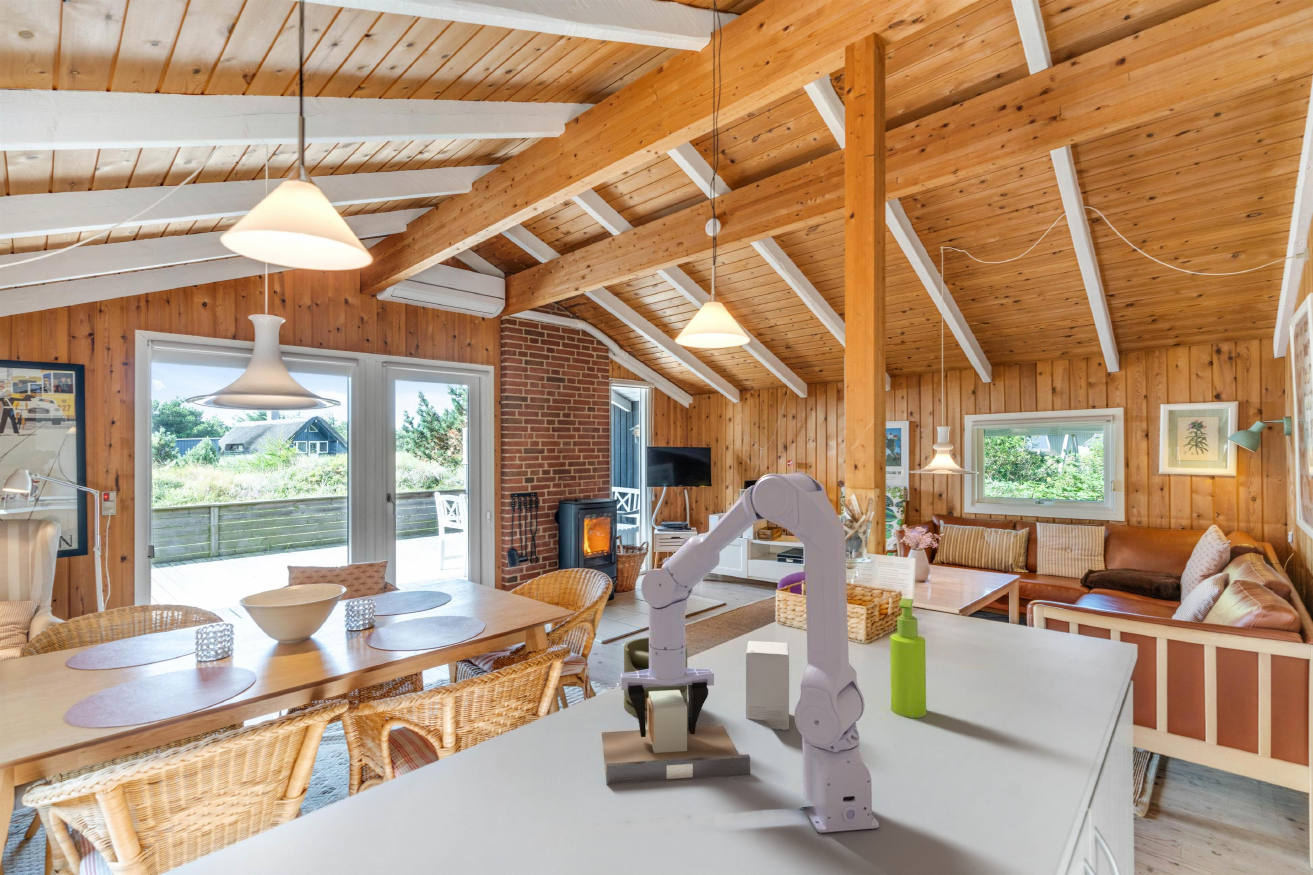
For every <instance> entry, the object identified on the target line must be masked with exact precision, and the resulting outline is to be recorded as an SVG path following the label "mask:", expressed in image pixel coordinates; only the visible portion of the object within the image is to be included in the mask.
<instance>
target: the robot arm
mask: <svg viewBox="0 0 1313 875" xmlns="http://www.w3.org/2000/svg"><path fill="white" fill-rule="evenodd" d="M764 520H766V521H768V522H770V523H773V524H775V525H777V526H780V527H781V528H784V529H785V530H788V531H789V532H790V534H792V535H793V536H794V537H795V538H797V539H798V540H799V541H800V542H801V543H802V544H803V546H804V578H805V580H804V581H805V582H804V583H805V584H804V585H805V587H804V588H805V614H806V617H805V618H806V621H805V622H806V623H805V624H806V653H807V654H806V656H807V657H806V658H807V659H806V660H807V662H806V663H807V664H806V667H805V671H804V674H803V677H802V680H801V683H800V695H799V696H800V697H799V700H798V702H797V704H796V706H795V708H794V713H793V714H794V723H795V726H796V729H797V731H798V732H799V733H800V735H801V737H802V740H801V742H802V745H801V746H802V795H803V797H804V799H805V800H806V801H807V802H808V803H809V804H810V805H808V806H801V808H802V810H803V811H804V813H805V815H806V817H807V818H808V820H809V821H810V823H811V824H812V826H813V827H814V828H815V830H816V832H818V833H821V834H822V833H834V832H846V831H857V830H859V831H860V830H868V829H871V830H872V829H878V828H879V827H880V823H879V821H878V820H877V819H876V818H875V817H874V815H873V809H872V808H873V802H872V798H873V797H872V796H873V793H872V790H873V789H872V784H873V783H872V776H871V773H870V771H869V769H868V767H867V766H866V764H865V762H864V761H863V759H862V756H861V752H860V751H861V750H860V735H859V731H858V728H857V722H858V721H859V720H860V719H861V718H862V717H863V714H864V711H865V698H864V696H863V693H862V691H861V689H860V687H859V684H858V681H857V680H858V679H857V677H858V676H857V671H856V669H855V668H854V667H853V665H851V664H850V661H849V659H850V658H849V656H850V655H849V632H848V631H849V630H848V627H849V625H848V623H849V621H848V620H849V619H848V592H847V560H846V559H847V556H846V554H847V553H846V530H845V526H844V524H843V522H842V521H841V518H840V516H838V513H837V512H836V510H835V508H834V507H833V505H832V503H831V501H830V500H829V498H828V495H827V491H826V487H825V486H824V485H823V484H821V482H819V481H818V480H816V479H815V478H814V477H812V476H811V475H809V474H808V473H805V472H800V471H798V472H791V473H784V474H783V473H781V474H779V473H769V474H768V473H767V474H765V475H763V476H762V477H760V478H759V479H757V481H756V482H755V484H753V485H751V486H750V487H747V489H745V491H744V492H743V494H742V495H741V496H740V498H738V500H737V501H736V502H735V503H734V504H733V505H732V506H731V507H730V508H729V509H728V510H727V511H726V512H725V514H723V516H721V518H719V520H718V521H717V522H715V524H714V525H713V526H712V527H711V528H710V529H709V530H708V531H707V532H706V534H704V535H703V536H702V535H693V536H691V537H690V536H689V537H684V538H683V539H682V540H681V541H680V545H681V547H680V548H678V549H677V550H676V551H675V553H674V554H672V555H671V556H668V557H665V558H664V559H663V560H662V566H661V568H653V569H649V570H647V571H646V574H645V575H644V577H643V578H642V579H641V580H642V581H641V585H640V587H641V588H640V589H641V594H642V597H643V600H645V602H646V603H647V604H648V637H649V669H646V670H640V671H635V672H628V673H624V672H621V673H620V675H619V678H620V682H619V684H620V690H621V691H624V690H627V689H628V694H629V697H630V700H631V702H632V704H633V706H634V709H635V711H636V714H637V717H636V718H637V720H638V725H639V726H638V727H639V730H640V735H641V737H646V730H647V729H646V719H645V699H646V698H645V694H644V688H643V687H659V686H679V685H687V701H688V709H687V727H688V729H689V732H690V734H695V729H696V727H697V723H698V720H699V717H700V713H701V711H702V708H703V706H704V704H705V701H706V700H707V698H708V696H709V688H708V687H710V686H712V687H713V686H714V685H715V673H714V671H713V670H712V669H711V668H692V667H691V668H690V667H687V668H685V644H686V610H687V609H688V608H687V606H688V603H687V602H688V599H689V598H690V597H691V595H692V593H693V589H694V587H695V586H696V585H698V584H699V583H700V582H701V581H702V580H704V578H706V577H707V576H708V575H709V574H710V573H711V572H712V571H713V570H714V569H715V568H717V566H719V564H720V558H721V557H720V555H721V554H720V553H721V552H722V551H723V550H724V549H726V548H727V546H729V545H730V544H732V543H733V541H735V540H736V539H738V538H739V537H740V536H741V535H742V534H744V533H745V532H746V531H747V530H749V529H750V528H751V527H752V526H754V525H755V523H757V522H760V521H764Z"/></svg>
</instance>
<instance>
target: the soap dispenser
mask: <svg viewBox="0 0 1313 875" xmlns="http://www.w3.org/2000/svg"><path fill="white" fill-rule="evenodd" d="M913 604H914V598H905V597H902V598H901V599H900V601H899V605H898V608H900V609H901V610H902V611H901V612H902V613H901V614H900V615H899V616H897V621H896V622H897V623H896V624H897V625H896V626H897V627H896V628H897V631H896V633H891V635H890V639H889V642H890V643H889V644H890V645H889V646H890V648H889V649H890V650H889V651H890V652H889V654H890V657H889V659H890V661H889V662H890V710H891V711H892V712H893V713H894V714H896V715H898V716H901V717H905V718H912V719H913V718H917V719H918V718H923V717H925V716H926V715H927V679H926V677H927V676H926V675H927V674H926V672H927V671H926V669H927V667H926V663H927V662H926V638H925V637H923V636H921V635H919V634H918V633H919V631H918V630H919V628H918V618H917V617H915V616H914V615H913Z"/></svg>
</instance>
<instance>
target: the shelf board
mask: <svg viewBox="0 0 1313 875" xmlns="http://www.w3.org/2000/svg"><path fill="white" fill-rule="evenodd" d="M601 740H602V752H603V761H604V772H605V775H606V764H607V763H623V762H638V761H654V760H669V759H685V758H701V757H716V756H732V755H740V753H739V752H738V749H737V748H736V746H735V744H734V743H733V741H732V739H731V736H730V735H729V733H728V731H727V730H726V728H725V725H721V724H720V725H707V726H706V725H705V726H696V729H695V734H690V732H689V729H688V726H687V751H678V752H662V753H654V751H653V747H652V743H651V739H650V735H649V731H648V729H646V737H641V735H640V729H634V730H621V731H620V730H618V731H603V732H601ZM738 776H739V777H740V776H744V775H738ZM738 776H737V777H738ZM728 777H729V776H723V777H722V778H728ZM712 778H713V779H714V778H715V777H708V778H707V779H712ZM695 779H696V780H698V779H700V778H694V779H693V780H695ZM683 780H686V779H679V780H678V781H683ZM665 781H671V780H665ZM665 781H664V782H665ZM653 782H654V783H655V782H657V781H650V782H649V783H653ZM637 783H642V782H636V783H635V784H637ZM623 784H628V783H621V784H620V785H623ZM605 785H606V786H608V785H609V786H612V785H613V784H605Z"/></svg>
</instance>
